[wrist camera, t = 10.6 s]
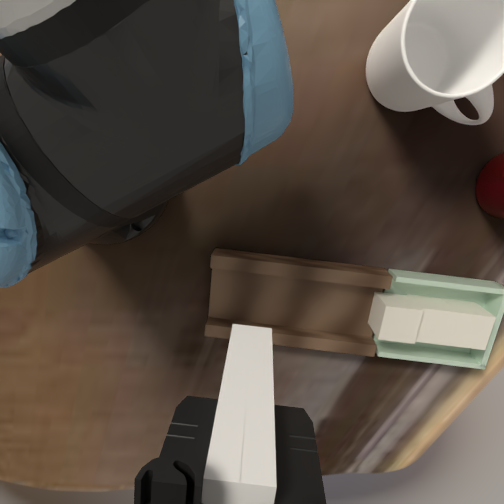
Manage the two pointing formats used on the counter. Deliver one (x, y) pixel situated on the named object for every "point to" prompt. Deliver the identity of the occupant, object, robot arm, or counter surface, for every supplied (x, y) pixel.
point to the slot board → (295, 300)
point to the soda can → (492, 187)
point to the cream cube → (471, 325)
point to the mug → (439, 57)
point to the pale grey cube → (395, 317)
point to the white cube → (435, 320)
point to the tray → (449, 287)
